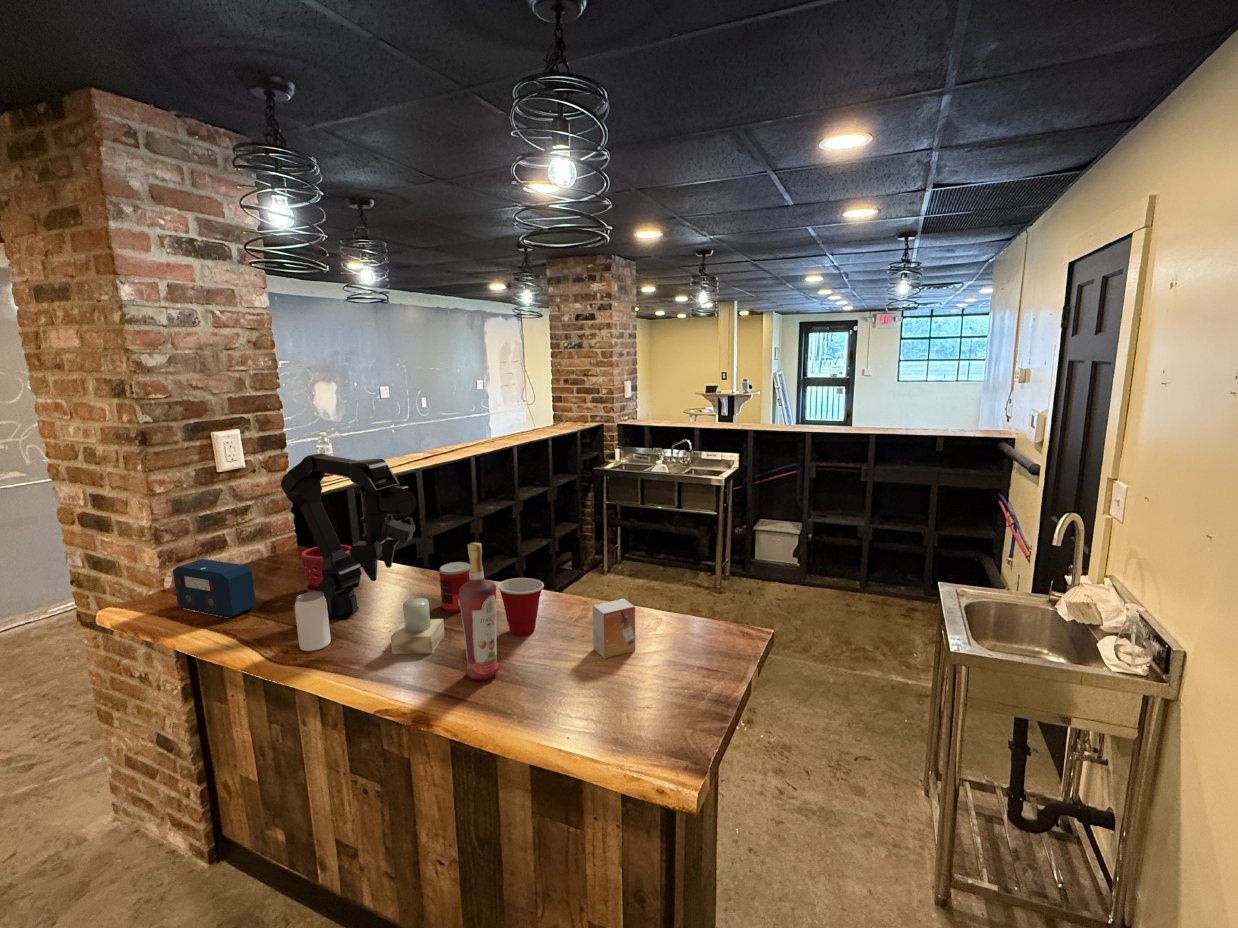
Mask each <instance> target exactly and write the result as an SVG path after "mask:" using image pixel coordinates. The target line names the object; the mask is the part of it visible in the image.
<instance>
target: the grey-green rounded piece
mask: <svg viewBox="0 0 1238 928" xmlns="http://www.w3.org/2000/svg"><path fill="white" fill-rule="evenodd" d="M429 602H430V601H429V599H427V598H424V597H416V598H412V599H409V600H406V601H404V602H403V603H402V606H403V610H402V611H403V622H405V631H406V632H409V633H419V632H423V631H426V630H428V629H429V628H430V619H431V617H430V616H431V615H430V606H429V605H430V603H429Z"/></svg>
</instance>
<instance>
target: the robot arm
mask: <svg viewBox="0 0 1238 928" xmlns="http://www.w3.org/2000/svg"><path fill="white" fill-rule="evenodd" d="M326 474H329V475H333V476H338V477H344V478H347V479H349V480H350V481H351V482H352V483H353V484H355V485H358V486H357V487H356V489H354V490H353V493H354V494H358V495H359V494H360V496H361V506H362V517H361V518H359V523H360V524H363V527H364V534H362V535H361V540H359V541H357V542H355V543H354V544H353V545H352V546H350V547H351V548H350V549H349V554H350V555H349V554H348V553H346V552H345V551H343V549H342V547H341V545H342V544H341V542H340V540H339V538H338V536H337V533H336V531H335V528H334V527H333V525H332V523H331V520H330V518H329V515H328V514H327V512H326V509H325V507H324V505H323V503H322V499H321V497H322V493H323V486H322V480H323V479H324V477H325V476H326ZM280 486H281V489H282V491H283V493H284V494H285V496H286V498H287V499H288V500H289V501H290V502H291V503H293V504H294V505H295V506H297V507H299V509H300V510H301V513H302V515H303V518H304V519H305V522H306V523H307V527H308V529H309V531H310V532H311V536H312V538H313V540H314V542H315V544H316V547H318V549H319V551H320V553H321V555H322V558H323V564H322V570H321V572H322V575H323V580H322V582H321V583H320V584H319V586H318V587H317V588H316V589H317V592H322V593H323V594H324V595H323V596H324V597H325V598H326V602H327V610H328V619H329V620H345V619H346V620H347V619H350V618H351V617H352V615H354V614H355V613H356V612H357V611H358V610H359V609H360V607H359V606H358V602H357V601H358V600H357V595H356V594H355V589H356V588H359V587H360V581H361V577H362V574H363V573H362V569H363V571H364V572H365V574H366V575H367V577H368V578H369V579H370V581H371V582H376V581H377V576H378V560H379V559H380V558H381V557H382V560H383V564H384V566H385V567H386V568H389V569H390V568H391V567H392V565H393V561H394V555H395V550H396V546H397V544H398V543H399V542H400V543H403V544H408V542H409V541H410V540H412V538H413V535H414V532H415V531H416V530H417V529H416V524H415V523H414V519H413V518H412V517H409V516H410V515H412V514H413V513H414V512H415V510H416V506H417V499H416V497H415V495H414V493H413V492H411V491H410V490H409V486H407V485H403V486H401V484H400V482H399V480H398V478H397V477H396V475H395V474H394V473H393V471H392V469H391V467H390V466H389V465H388V464H387V461H386V460H385V459H383V458H369V459H361V460H360V459H359V460H358V459H357V460H356V459H350V458H344V457H340V456H334V455H327V454H325V453H314V454H309V455H306V456H305V457H303V459H302V460H301V461H300V462H299V463H297V465H295V466H293V467H292V468H291V469H289V470H288V471H287V472H286V473H285V474H284V475H283V477H282V479H281V481H280ZM394 516H404V517H406V518H404V519H403V520H402V519H399V520H396V519H394ZM361 568H362V569H361Z"/></svg>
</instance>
